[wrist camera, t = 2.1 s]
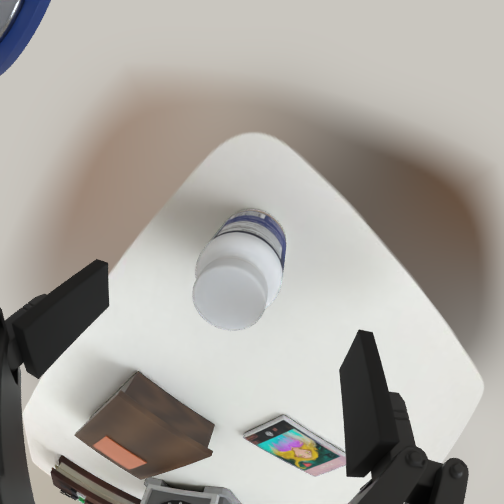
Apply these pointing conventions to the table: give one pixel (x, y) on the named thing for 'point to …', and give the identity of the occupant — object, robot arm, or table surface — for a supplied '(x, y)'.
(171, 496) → the alarm clock
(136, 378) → the wooden box
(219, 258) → the pill bottle
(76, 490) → the decorative book
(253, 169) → the table surface
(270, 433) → the smartphone
